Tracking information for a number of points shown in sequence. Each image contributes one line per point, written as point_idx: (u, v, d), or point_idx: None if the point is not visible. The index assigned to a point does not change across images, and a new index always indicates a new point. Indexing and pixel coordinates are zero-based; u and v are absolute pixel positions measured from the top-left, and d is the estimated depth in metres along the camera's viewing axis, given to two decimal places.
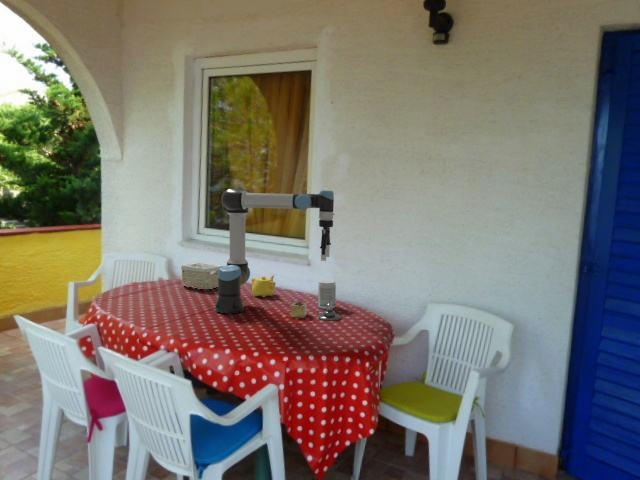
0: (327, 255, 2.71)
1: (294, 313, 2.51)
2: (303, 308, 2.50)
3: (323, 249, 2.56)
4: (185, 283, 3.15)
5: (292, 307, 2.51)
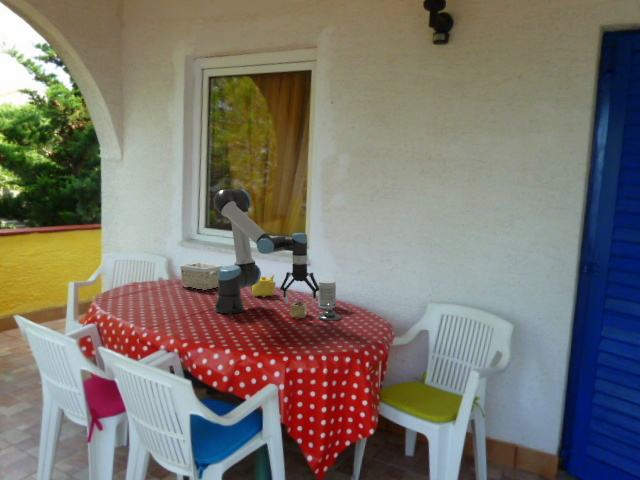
0: None
1: (294, 313, 2.51)
2: (303, 308, 2.50)
3: None
4: (184, 283, 3.15)
5: (292, 307, 2.51)
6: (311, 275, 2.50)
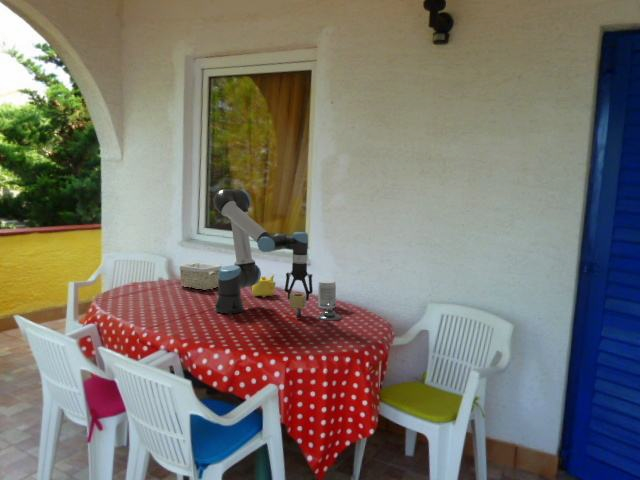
0: None
1: (293, 304, 2.51)
2: (302, 299, 2.50)
3: None
4: (183, 283, 3.14)
5: (291, 298, 2.51)
6: (310, 277, 2.50)
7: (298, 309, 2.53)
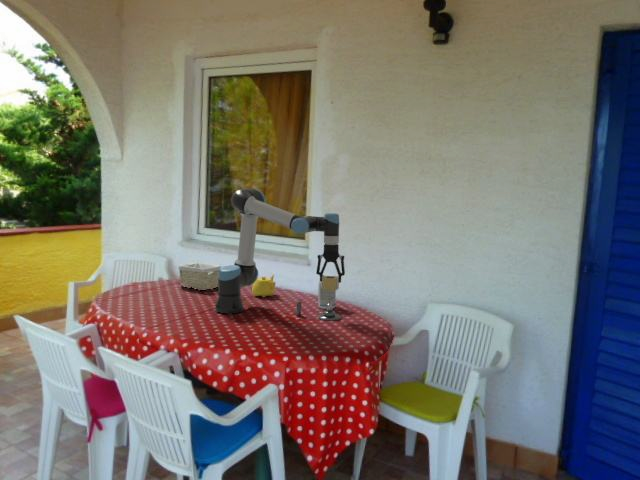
0: (337, 287, 2.50)
1: (326, 286, 2.47)
2: (335, 281, 2.46)
3: None
4: None
5: (324, 280, 2.47)
6: (342, 258, 2.47)
7: (298, 309, 2.53)
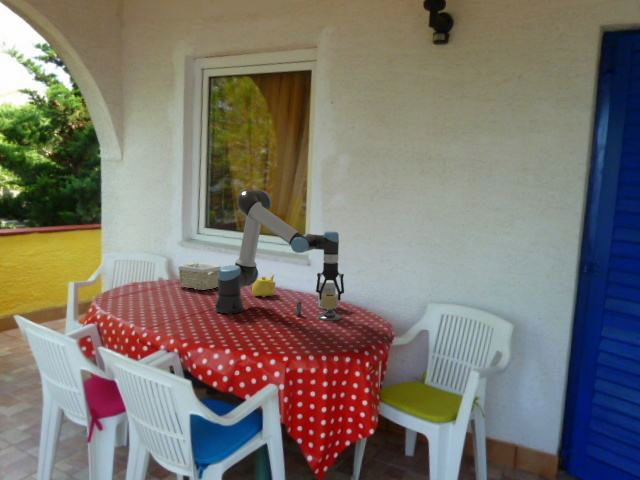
0: (336, 305, 2.51)
1: (325, 304, 2.48)
2: (335, 299, 2.47)
3: (319, 293, 2.52)
4: None
5: (323, 298, 2.48)
6: (342, 276, 2.48)
7: (298, 309, 2.53)
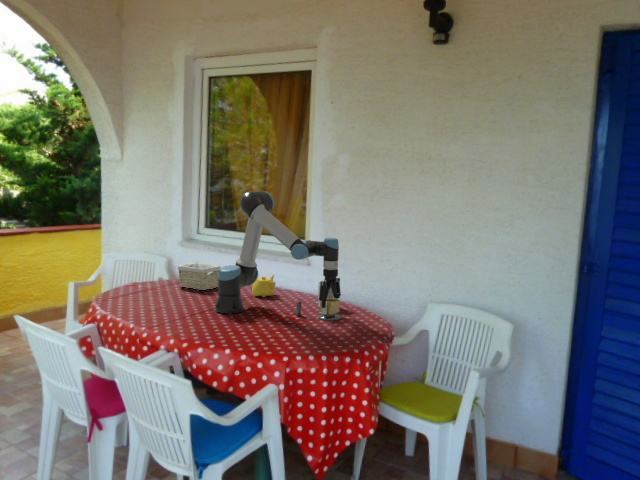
0: None
1: (333, 309, 2.48)
2: (338, 302, 2.52)
3: (322, 302, 2.47)
4: None
5: (331, 304, 2.47)
6: (339, 280, 2.54)
7: (298, 309, 2.53)
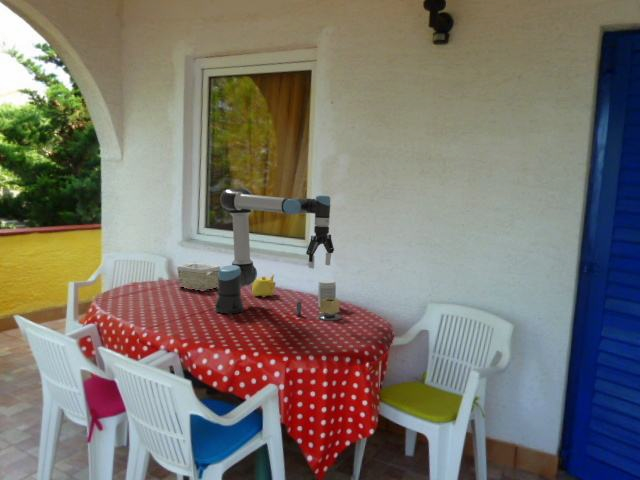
0: (328, 263, 2.59)
1: (333, 309, 2.48)
2: (338, 302, 2.52)
3: (310, 256, 2.47)
4: (181, 284, 3.12)
5: (331, 304, 2.47)
6: (330, 236, 2.56)
7: (298, 309, 2.53)
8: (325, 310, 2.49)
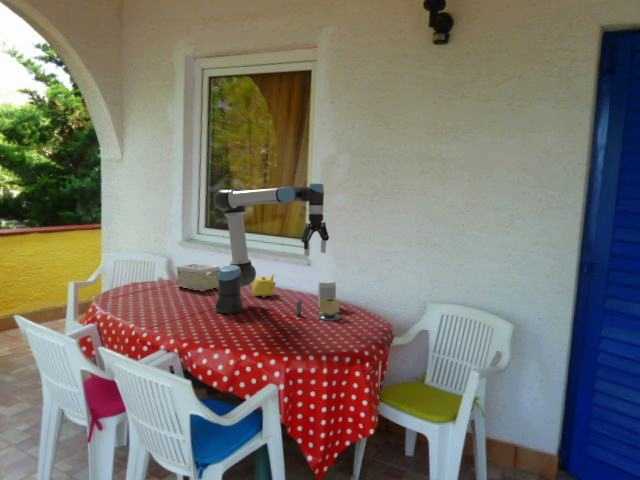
0: (323, 251, 2.60)
1: (333, 309, 2.48)
2: (338, 302, 2.52)
3: (305, 243, 2.48)
4: (181, 284, 3.12)
5: (331, 304, 2.47)
6: (324, 224, 2.58)
7: (298, 309, 2.53)
8: (325, 310, 2.49)
